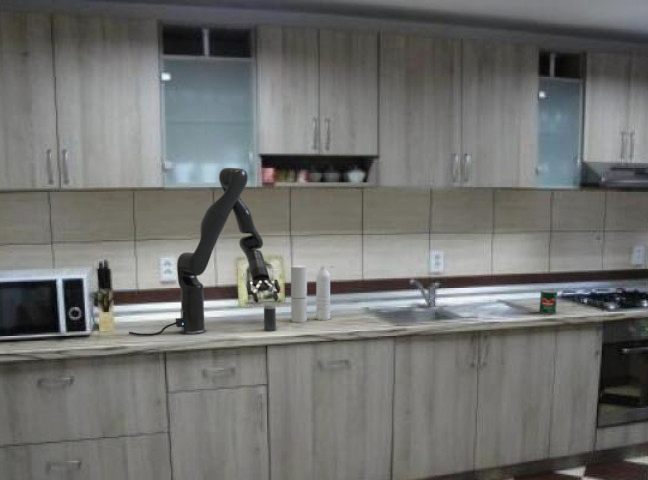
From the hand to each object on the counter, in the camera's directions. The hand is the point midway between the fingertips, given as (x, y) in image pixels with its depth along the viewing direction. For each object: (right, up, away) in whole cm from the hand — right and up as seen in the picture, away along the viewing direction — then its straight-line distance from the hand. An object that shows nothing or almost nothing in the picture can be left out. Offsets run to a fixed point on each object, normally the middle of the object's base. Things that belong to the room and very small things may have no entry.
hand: (266, 300), depth 267 cm
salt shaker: (+1, -12, -2) cm, 13 cm away
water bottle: (+25, -8, +22) cm, 34 cm away
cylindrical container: (+13, -9, +17) cm, 23 cm away
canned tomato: (+135, -6, +40) cm, 141 cm away
